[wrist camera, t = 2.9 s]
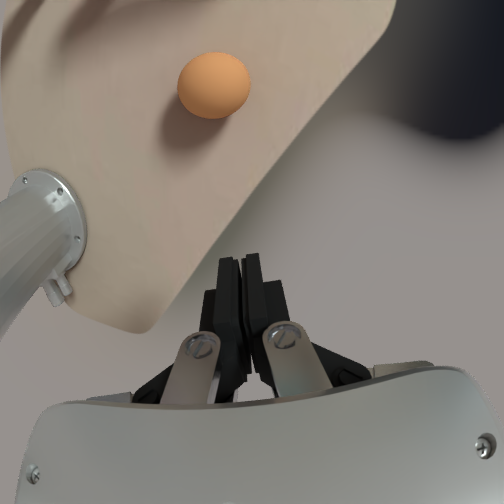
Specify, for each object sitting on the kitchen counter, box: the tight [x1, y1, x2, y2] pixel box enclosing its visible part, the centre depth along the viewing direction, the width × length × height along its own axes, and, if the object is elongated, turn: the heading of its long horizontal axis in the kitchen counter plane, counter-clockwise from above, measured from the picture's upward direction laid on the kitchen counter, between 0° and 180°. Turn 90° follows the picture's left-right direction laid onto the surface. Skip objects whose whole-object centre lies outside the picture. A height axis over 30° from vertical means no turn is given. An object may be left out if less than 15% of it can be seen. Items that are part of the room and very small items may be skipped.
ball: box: [177, 52, 250, 119], centre depth 18 cm, size 6×6×6 cm
